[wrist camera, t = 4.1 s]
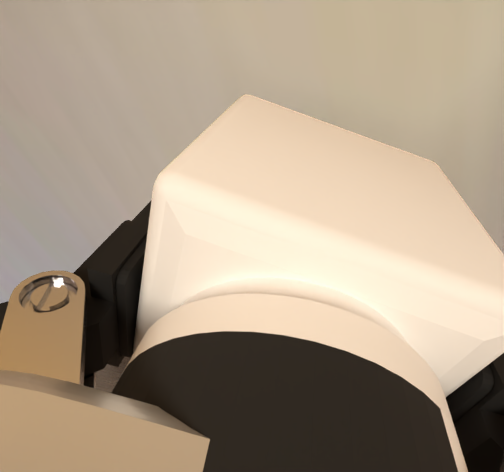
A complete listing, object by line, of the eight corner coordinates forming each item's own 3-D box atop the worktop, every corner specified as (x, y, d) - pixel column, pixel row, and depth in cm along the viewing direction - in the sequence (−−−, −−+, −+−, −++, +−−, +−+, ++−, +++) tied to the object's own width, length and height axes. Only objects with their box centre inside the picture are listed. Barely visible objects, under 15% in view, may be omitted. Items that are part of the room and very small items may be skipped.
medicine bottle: (201, 246, 15) (-26, 666, 5) (242, 88, 11) (-413, 662, 1) (346, 298, 15) (379, 804, 6) (440, 160, 11) (1261, 1223, 1)
